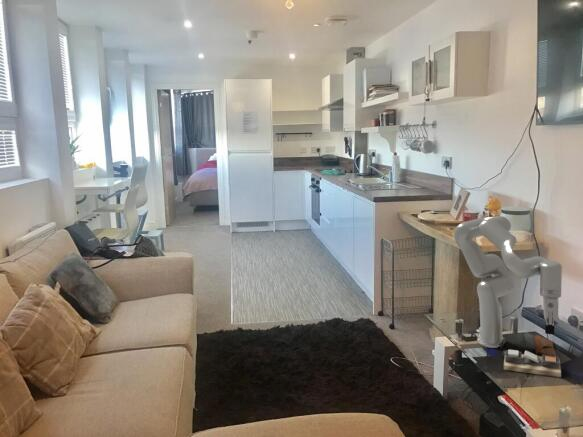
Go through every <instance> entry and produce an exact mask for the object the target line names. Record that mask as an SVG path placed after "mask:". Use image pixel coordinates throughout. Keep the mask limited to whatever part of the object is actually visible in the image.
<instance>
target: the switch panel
mask: <svg viewBox="0 0 583 437" xmlns="http://www.w3.org/2000/svg"><path fill="white" fill-rule="evenodd" d="M508 350H509V349H508ZM508 350H507V349H505V352H506V355H505V354H504V358H503V359H504V360H503V370H504V371H510V372H512V371H513V372H520V373H527V374H532V375H533V374H534V375H540V376H541V375H542V376H549V377H557V378H562V367H561V361H560V358H559V356H558V355H556V356H551V355H543V354H542V356H539V363H537V362H535V361H533V360H531V359H528V358H526V357H524V354H523V353H522V351H519V358H518V357H510V356H508ZM545 356H550V357H556V362H551V361H545Z"/></svg>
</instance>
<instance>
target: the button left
mask: <svg viewBox="0 0 583 437" xmlns="http://www.w3.org/2000/svg"><path fill="white" fill-rule="evenodd" d="M519 352H520V351H519V350H516V349H508V356H510V357H518V358H519Z"/></svg>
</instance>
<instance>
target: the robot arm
mask: <svg viewBox="0 0 583 437" xmlns="http://www.w3.org/2000/svg"><path fill="white" fill-rule="evenodd" d="M511 227H512V225H511V221H510V220H509V219H508V217H505V216H503V215H502V216H501V215H499V216H489V217H488V216H487V217H486V216H485V217H481V218H475V219H472V220H471V219H470V220H466V221H463V222H461V223H459V224H458V225H457V226H455V229H454V232H453V237H454V241H455V244H456V245H457V247H458V248H459V250H460V251H461V253H462V254H463V256H464V259H465V261H466V263H467V265H468V267H469V269H470V272H471V274H472V275H473V276H474V277H475V278H484V277H487V276H488V278H485V279H483V280H481V281H480V282H478V284H477V286H476V293H477V296H478V301H479V320H480V321H479V322H480V326H479V327H478V329H476V332H477V333H478V334H479V336H478V337H477V338H476V339H477V340H476V341H477V344H479V345H480V346H483V347H484V348H490V349H498V347H499V346H500V345H499V344H500V343H501V342H502V340H503V339H505V337H503V309H502V304H501V303H500V301H499V298H501V297H504V296H507V295H510V294H511V293H512V292H513V291H514V287H515V286H514V281H513V279H512V277H511V275H510V273H509V271H508V269H509V270H510V271H511V272H512V273H514V275H515V276H517V277H519V278H521V279H529V278H533V277H535V276H539V280H540V281H539V296H541V297H542V298H543V299H542V304H543V307H542V309H543V310H542V311H543V318H544V320H545V324H544V327H545V328H544V330H545V331H544V333H545V334H546V335H554V334H555V322H557V323H558V322H559V298H561V297H562V278H563V277H562V275H563V266H562V264H561V263H560V262H559V261H554V260H551V259H550V260H549V259H548V258H545V257H543V256H539V255H537V256H532V257H528V258H525V259H522V258H520V257H519V256H518V255H517V254H516V253H515V252H514V250H513V248H514V247H515V246H516V244H517V240H518V239H517V237H516V236H515V235H514V234H513V233H511V232H510V231H511ZM482 236H483V237H485V238H486V239H487V240H488V241H489V242H490V243H491V244H493V245H494V246H495V247H496V248H497V249H498V250H499V251H500V254H501V257H500V256H498V255H497V254H494V253H488V254H485V253H484V252H483V250H482V247H481V246H480V244H478V242H476V241H475V240H473V239H474V238H475V239H476V238H479V237H482ZM489 276H491V277H489Z"/></svg>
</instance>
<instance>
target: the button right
mask: <svg viewBox="0 0 583 437" xmlns="http://www.w3.org/2000/svg"><path fill="white" fill-rule="evenodd" d="M545 361H551V362H556V357H550V356H545Z"/></svg>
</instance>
